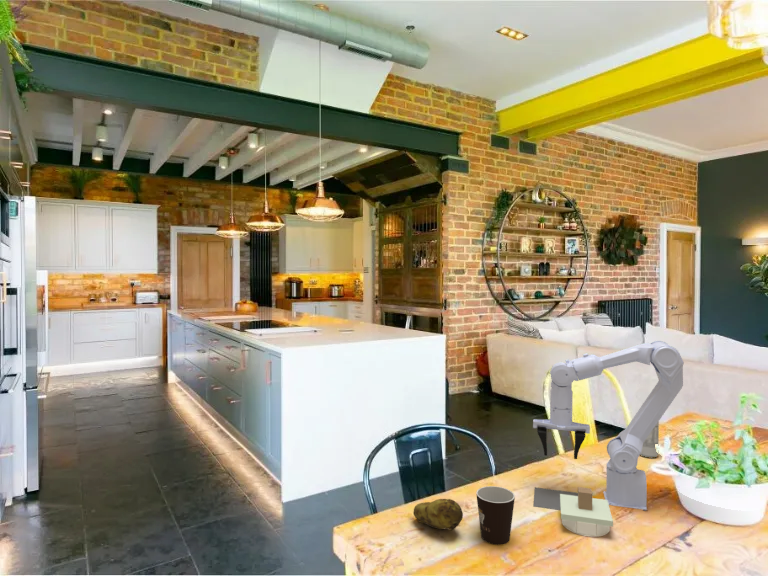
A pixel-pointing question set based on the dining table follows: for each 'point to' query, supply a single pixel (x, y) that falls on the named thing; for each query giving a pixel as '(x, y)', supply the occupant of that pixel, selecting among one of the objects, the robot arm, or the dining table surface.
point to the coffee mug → (495, 513)
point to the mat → (549, 498)
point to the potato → (439, 513)
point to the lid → (585, 508)
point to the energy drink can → (651, 443)
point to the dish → (586, 528)
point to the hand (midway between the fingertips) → (560, 456)
